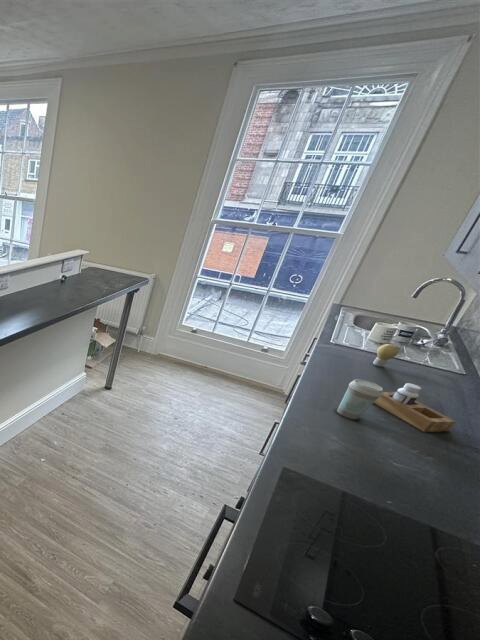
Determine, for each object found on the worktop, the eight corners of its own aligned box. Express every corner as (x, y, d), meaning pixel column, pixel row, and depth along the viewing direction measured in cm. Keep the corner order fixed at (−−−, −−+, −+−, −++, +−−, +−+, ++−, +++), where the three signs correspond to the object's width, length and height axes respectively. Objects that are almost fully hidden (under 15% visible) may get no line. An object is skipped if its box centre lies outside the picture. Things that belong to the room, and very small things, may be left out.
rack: (392, 401, 148) (399, 392, 146) (447, 431, 133) (456, 421, 131) (370, 401, 147) (377, 392, 145) (423, 431, 132) (432, 422, 130)
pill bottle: (403, 408, 144) (421, 385, 139) (407, 415, 140) (426, 391, 135) (384, 402, 147) (401, 380, 142) (388, 409, 143) (406, 386, 138)
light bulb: (369, 360, 180) (383, 340, 175) (388, 366, 176) (403, 346, 171) (367, 364, 176) (381, 343, 171) (385, 370, 172) (400, 349, 167)
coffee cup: (327, 410, 139) (347, 380, 132) (339, 405, 142) (359, 376, 136) (356, 424, 132) (378, 393, 126) (368, 418, 136) (390, 389, 130)
